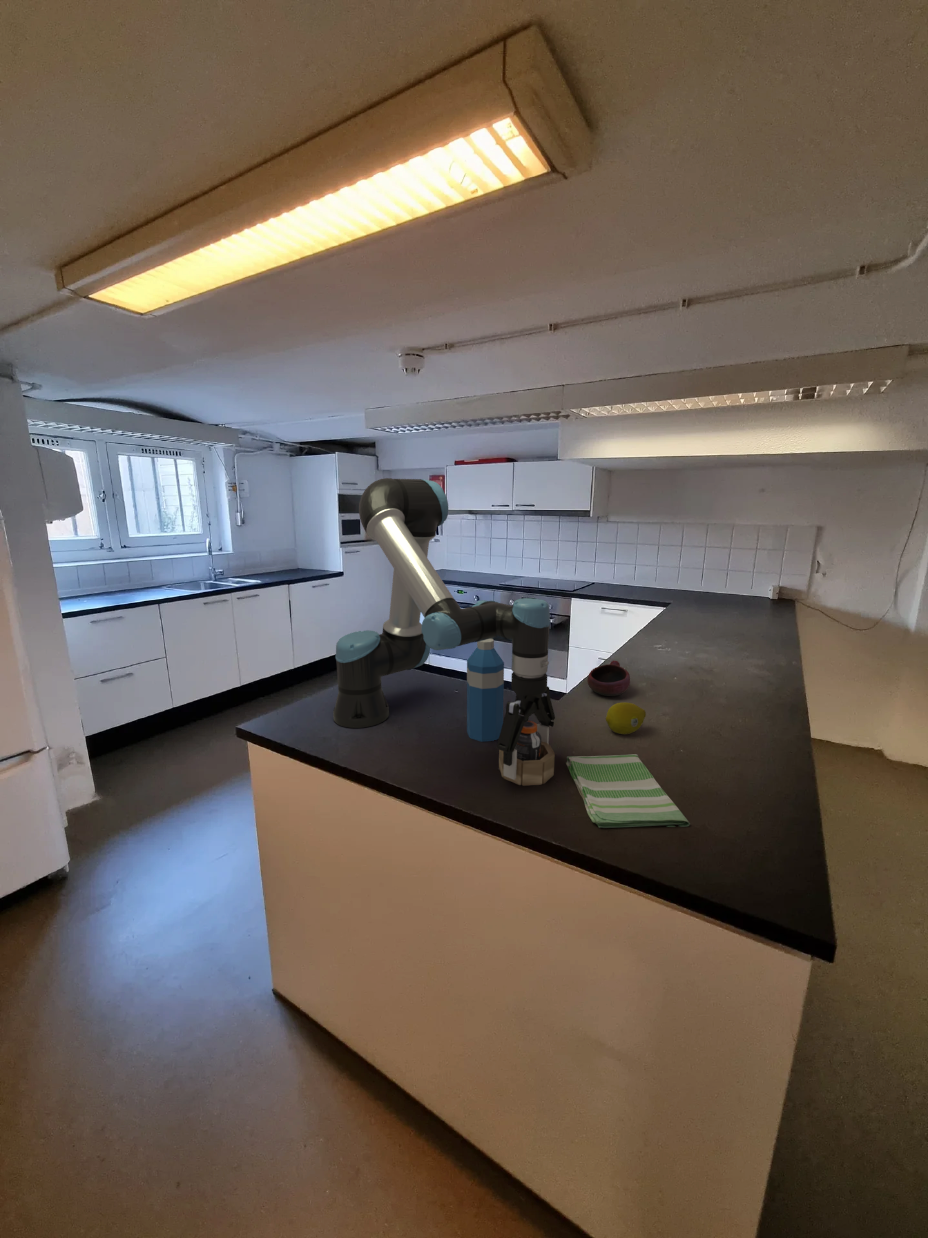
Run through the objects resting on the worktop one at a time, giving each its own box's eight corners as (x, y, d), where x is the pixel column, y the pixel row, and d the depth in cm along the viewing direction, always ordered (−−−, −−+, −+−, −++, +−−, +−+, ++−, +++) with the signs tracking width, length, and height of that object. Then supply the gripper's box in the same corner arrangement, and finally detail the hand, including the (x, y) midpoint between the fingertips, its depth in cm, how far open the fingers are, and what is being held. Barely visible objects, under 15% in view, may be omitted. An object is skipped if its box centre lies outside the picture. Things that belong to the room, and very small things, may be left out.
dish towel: (593, 832, 88) (594, 818, 88) (562, 765, 111) (562, 754, 110) (689, 829, 89) (691, 816, 88) (639, 763, 112) (640, 752, 111)
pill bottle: (544, 776, 105) (546, 728, 103) (519, 780, 104) (520, 731, 101) (533, 762, 111) (534, 716, 108) (508, 766, 109) (509, 719, 107)
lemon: (609, 740, 122) (611, 710, 120) (598, 726, 129) (600, 698, 127) (651, 738, 122) (654, 709, 120) (638, 725, 130) (640, 697, 128)
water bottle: (500, 743, 120) (502, 646, 114) (463, 740, 122) (463, 644, 116) (504, 727, 129) (506, 636, 123) (470, 724, 131) (470, 634, 125)
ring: (490, 773, 107) (490, 752, 106) (518, 752, 115) (518, 733, 114) (535, 791, 100) (535, 769, 99) (561, 768, 108) (562, 748, 107)
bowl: (635, 701, 145) (637, 676, 144) (592, 701, 145) (593, 676, 143) (618, 682, 161) (620, 659, 159) (579, 682, 161) (580, 659, 159)
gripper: (512, 694, 90) (509, 795, 95) (572, 661, 109) (568, 747, 114) (479, 685, 95) (479, 782, 100) (543, 655, 114) (540, 738, 119)
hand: (526, 764), depth 107 cm, fingers open, 13 cm apart
